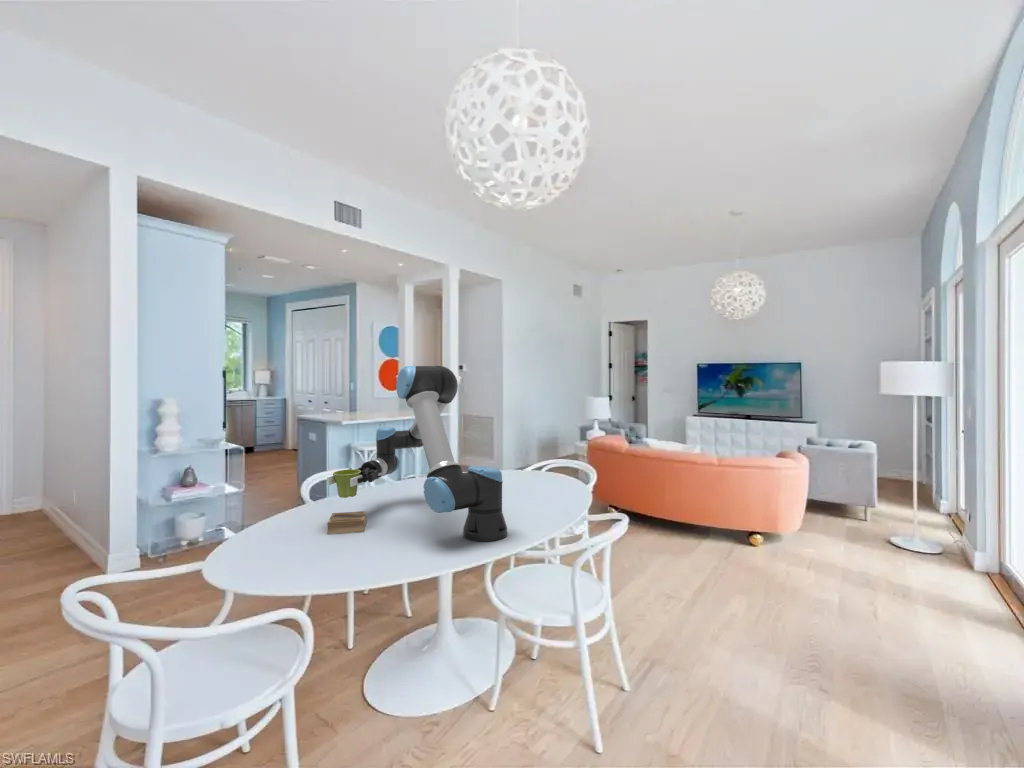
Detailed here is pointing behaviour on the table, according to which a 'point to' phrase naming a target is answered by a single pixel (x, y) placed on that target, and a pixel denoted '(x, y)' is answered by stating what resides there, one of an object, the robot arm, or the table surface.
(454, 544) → the table surface
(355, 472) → the plant pot
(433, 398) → the robot arm
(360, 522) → the oak plinth
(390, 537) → the table surface
